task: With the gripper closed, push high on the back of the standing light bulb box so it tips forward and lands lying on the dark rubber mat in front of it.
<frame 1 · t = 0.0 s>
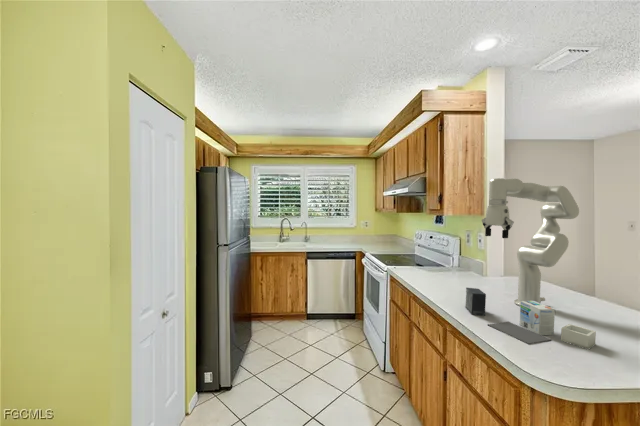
hand: (496, 237, 145), 37 cm above the table, tool pointing down, fingers open, 9 cm apart
mat: (517, 332, 119), on the table
grey tub: (577, 342, 111), on the table
small box: (475, 311, 143), on the table
light bulb box: (536, 330, 122), on the table
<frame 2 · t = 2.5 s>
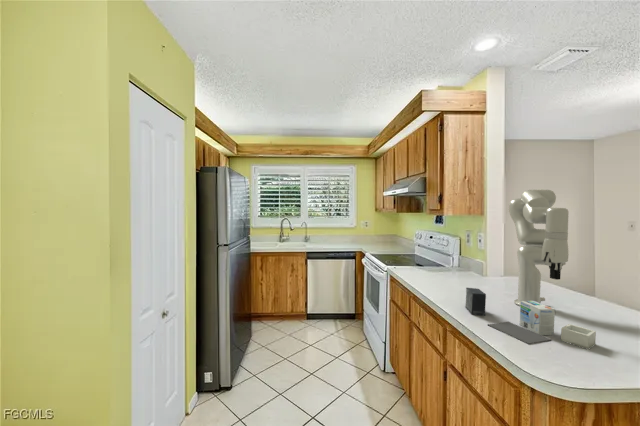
hand: (554, 278, 124), 21 cm above the table, tool pointing down, fingers closed
nothing on the table moved.
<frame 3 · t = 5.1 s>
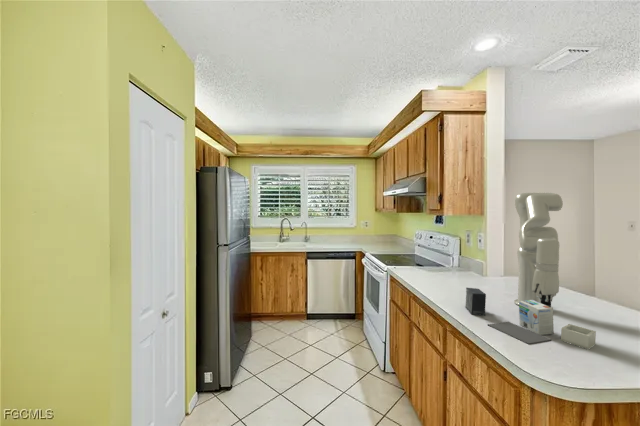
hand: (545, 310, 123), 8 cm above the table, tool pointing down, fingers closed
light bulb box: (536, 329, 122), on the table, touching gripper
everything else where it was.
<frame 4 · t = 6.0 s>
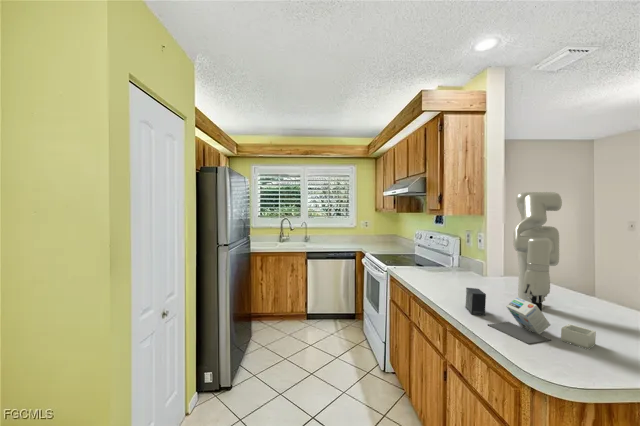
hand: (536, 310, 122), 8 cm above the table, tool pointing down, fingers closed
light bulb box: (534, 325, 122), point 2 cm above the table, touching gripper, mat
everything else where it was.
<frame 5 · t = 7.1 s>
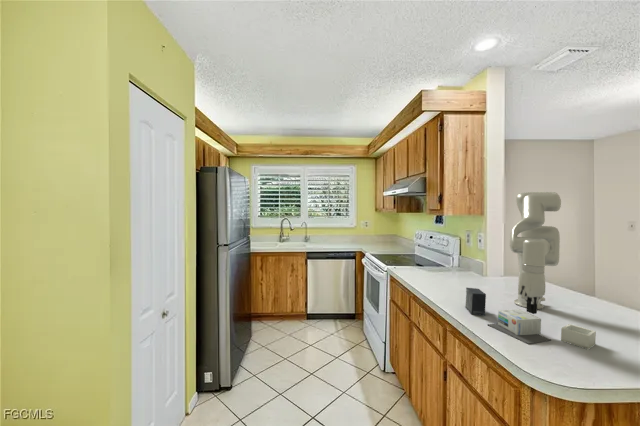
hand: (531, 312, 121), 8 cm above the table, tool pointing down, fingers closed
light bulb box: (530, 321, 121), point 4 cm above the table, touching mat
everything else where it was.
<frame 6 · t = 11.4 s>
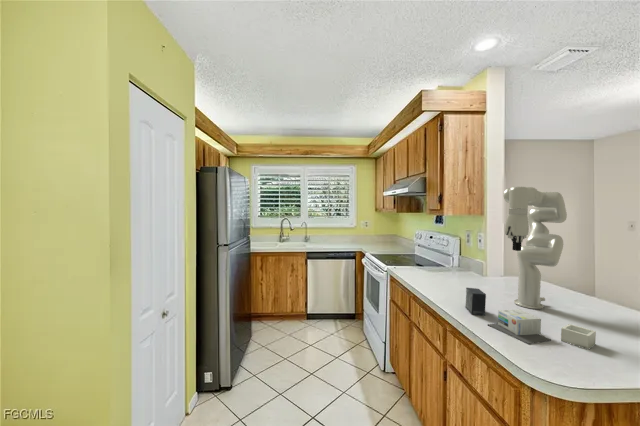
hand: (516, 250, 139), 31 cm above the table, tool pointing down, fingers closed
nothing on the table moved.
at the end: light bulb box tilted 91°; light bulb box inside the target area (8.1 cm from its centre), point 3.8 cm above the table; grey tub touching table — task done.
